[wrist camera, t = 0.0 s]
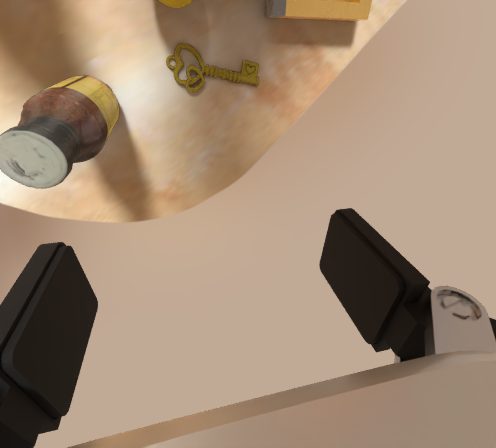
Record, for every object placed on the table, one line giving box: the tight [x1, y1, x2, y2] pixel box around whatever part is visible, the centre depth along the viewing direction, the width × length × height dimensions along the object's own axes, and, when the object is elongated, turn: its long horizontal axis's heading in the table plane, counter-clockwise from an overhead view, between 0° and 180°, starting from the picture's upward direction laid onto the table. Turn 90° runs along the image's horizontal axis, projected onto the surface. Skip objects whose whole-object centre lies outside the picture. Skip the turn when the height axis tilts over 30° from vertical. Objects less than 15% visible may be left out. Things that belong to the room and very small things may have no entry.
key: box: [166, 43, 259, 92], centre depth 34 cm, size 12×1×5 cm
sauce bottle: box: [0, 75, 119, 189], centre depth 25 cm, size 6×6×20 cm
